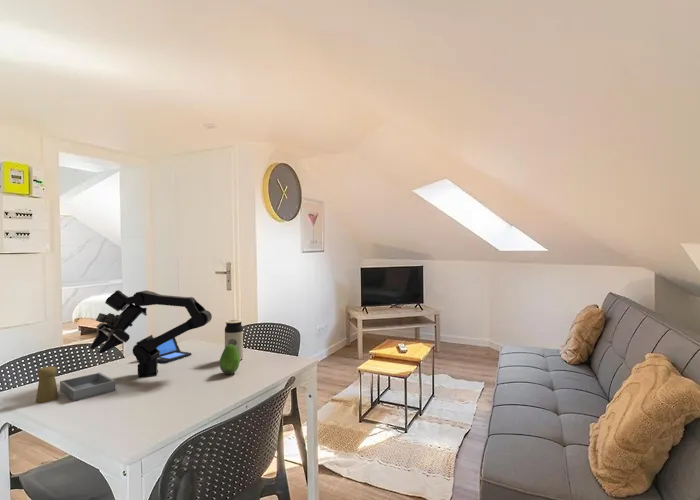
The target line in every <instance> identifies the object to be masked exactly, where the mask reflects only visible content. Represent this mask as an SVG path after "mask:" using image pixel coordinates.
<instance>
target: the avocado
mask: <svg viewBox="0 0 700 500" xmlns="http://www.w3.org/2000/svg"><path fill="white" fill-rule="evenodd" d="M240 362H241V360H240V358H239V353H238V350H237V347H236V346H235V345H232V344H229V345H227V346H226V347H225V346H224V349H223V351H222V353H221V355H220V359H219V367H220V371H221V372H222V373H224V374H226V375H232V374H234V373H235V372H237V371H238V369H239V366H240Z"/></svg>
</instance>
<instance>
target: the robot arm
mask: <svg viewBox="0 0 700 500" xmlns="http://www.w3.org/2000/svg"><path fill="white" fill-rule="evenodd" d="M104 303H105V305H107V306H108V307H110V308H111V309H113V310H115V311H116V312H119V311H121V313H119V314H114V313H111V312H108V313H107V314H106V313H105V314H104V313H102V312H99V313H98V315H97V317H96V319H95V321H96V322H99V324H97V325H96V336H95V338H94V340H93V342H92V343H91V345H90V346H89V349H90V350H94V349H95V348H98V347H99V346H101V345H102V346H101V347H100V349H99V350H98V353H99V354H103V353H105V352H107V351H109V350H111V349H113V348H115V347H117V346H120V345H123V343H127V342H128V341H129V340H130V337H131V336H130V334H129V333H127V332H126V330H127V329H128V328H129V327H130V328H131V327H132V326H134V325H133V323H134V322H135V321H136V320H137V319H138V317H140V315H144V316H148V315H147V311H148V310H147V306H148V307H149V306H154V305H158V306H171V307H183V308H185V309H186V311H187V313H188V314H189V316H190V318H188V320H187V319H186V321H185V322H183V323H181V324H179V325H177V326H176V327H174V328H172V329H170V330H168V331H165V332H164V333H162V334H160V335H158V336H154V337H153V334H151V335H149V336H147V337H145V338H143V339H141V340H139V341H137V342H135V345H134V346H133V347H132V354H133V356H134V357H135V359H136V361H137V363H138V364H137V375H138V378H146V377H147V378H148V377H155V376H157V375H158V373H159V369H158V362H157V357H158V356H159V353H160V351H159V350H158V349H157V347H159V346H160V345H161V344H163V343H165V342H167V341H169V340H171V339H173V338H175V339H176V338H177V337H179V336H180V335H182V334H184V333H186V332H188V331H191V330H194V329H198V328H202V327H204V326H205V325H207V324H209V323H210V322H211V320H212V318H213V317H212V313H211V312H210V311H209V310H208V309H206V308H205V307H204V306H203V305H202V304H200V303H199V302H198V300H196V298H195V297H192V296H177V295H168V294H160V293H157V292H154V291H150V290H142V291H136V292H134V294H133V295H132V296H127V295H126V294H125V293H123V292H122V291H121V290H115V291H114V292H113V293H112V294H111V295H110V296H109V297H107V298H106V300H105V302H104ZM145 306H146V307H145Z"/></svg>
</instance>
